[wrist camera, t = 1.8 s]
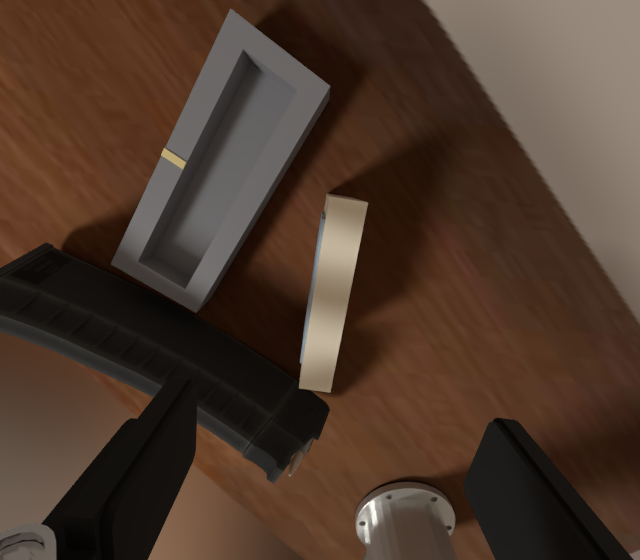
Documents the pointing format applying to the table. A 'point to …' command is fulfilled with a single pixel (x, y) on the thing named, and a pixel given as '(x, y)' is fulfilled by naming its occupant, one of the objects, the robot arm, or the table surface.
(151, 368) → the magazine
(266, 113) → the gray rectangular tray
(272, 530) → the table surface
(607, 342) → the table surface
